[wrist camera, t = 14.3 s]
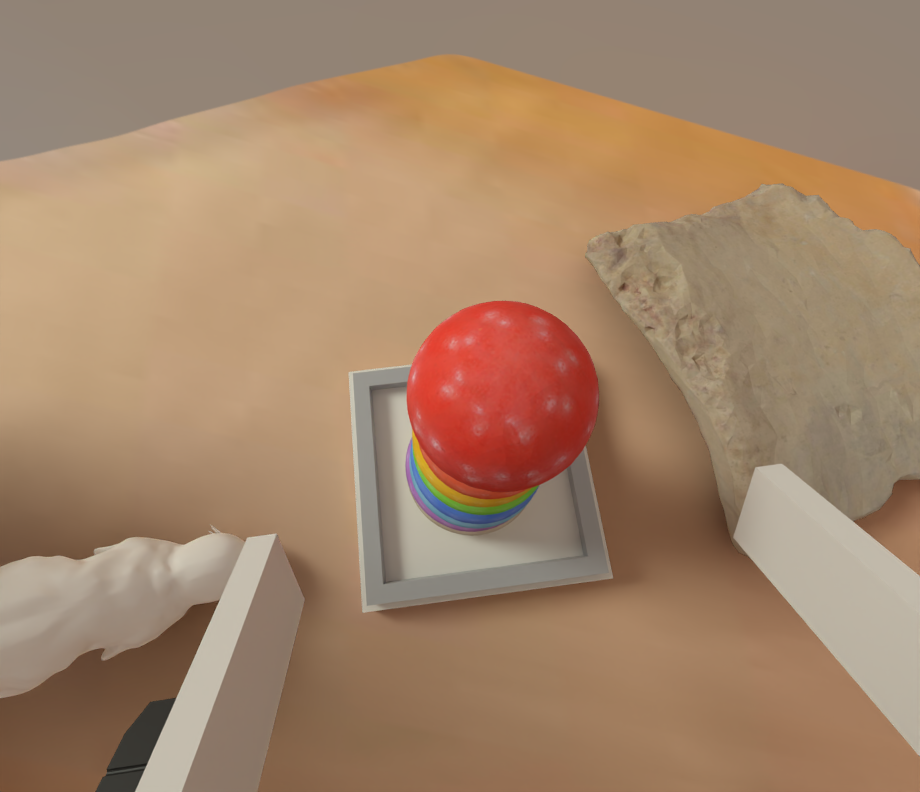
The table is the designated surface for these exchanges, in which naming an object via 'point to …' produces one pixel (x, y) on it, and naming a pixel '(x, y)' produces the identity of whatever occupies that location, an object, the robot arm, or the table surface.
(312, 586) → the table surface
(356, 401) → the tray
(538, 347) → the stacking toy
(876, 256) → the tablet
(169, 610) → the lumpy white figurine
